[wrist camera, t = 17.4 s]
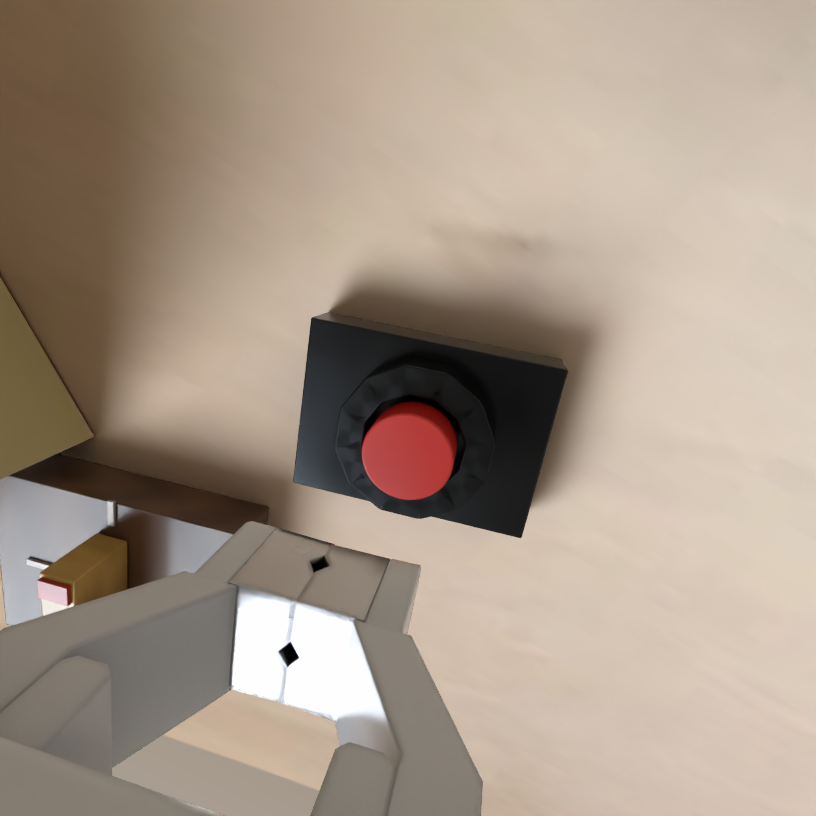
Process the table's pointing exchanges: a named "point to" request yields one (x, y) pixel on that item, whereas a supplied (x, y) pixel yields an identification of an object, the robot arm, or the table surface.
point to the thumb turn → (84, 574)
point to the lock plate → (106, 524)
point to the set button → (410, 450)
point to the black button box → (444, 390)
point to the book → (31, 397)
